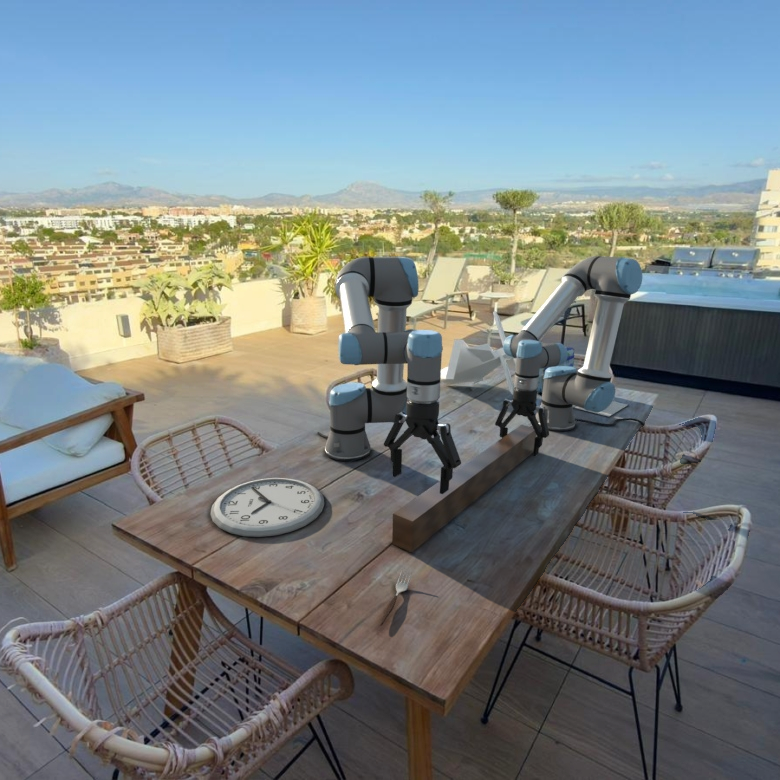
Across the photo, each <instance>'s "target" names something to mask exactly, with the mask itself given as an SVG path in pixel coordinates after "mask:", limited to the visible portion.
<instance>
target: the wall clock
mask: <svg viewBox="0 0 780 780" xmlns="http://www.w3.org/2000/svg"><path fill="white" fill-rule="evenodd" d="M324 506H325V498H324V495H323V494H322V492H321V491H320V490H319V489H318V488H316V487H315V486H313V484H310V483H308V482H305V481H302V480H299V479H293V478H286V477H285V478H284V477H283V478H282V477H270V478H261V479H255V480H251V481H247V482H243V483H241V484H238V485H236V486H233V487H231V488H230V489H228V490H225V492H224V493H222V494H221V495H220V496H218V497H217V499H216V500H215V501H214V503H213V504H212V505H211V509H210V517H211V520H212V523H214V524H215V525H216V526H217V527H218V528H219V529H221V530H223V531H225V532H227V533H229V534H231V535H236V536H242V537H253V538H254V537H256V538H263V537H272V536H279V535H283V534H288V533H291V532H294V531H296V530H299V529H301V528H303V527H306V526H307V525H309V524H310V523H312V522H313V521H315V520H316V519H317V518H318V517H319V516H320V514H321V513H322V512H323V510H324Z"/></svg>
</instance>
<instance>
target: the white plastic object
mask: <svg viewBox="0 0 780 780" xmlns="http://www.w3.org/2000/svg"><path fill="white" fill-rule="evenodd" d="M492 315H493V319H494V321H495V324H496V325H495V326H496V328H497V332H498V335H499V338H500V342H501V345H502V346H503V344H504V341H505V339H506V338H507V337H506V334H505V331H504V328H503V325H502V321H501V318H500V315H499V314H498V312H497V311H496V310H495V311H492ZM510 360H513V363H514V366H515V367H516V358H513V357H511V356H508V355H507V354H505V352H504V350H503V347H500V348H498V349H496V350H495V349H493V348H492V347H491V346H490V344H489V343H488V342H487V343H483V344H479V345H473V346H469V345H468V343H466V342H465V340H464V339H463V338H460V339H458V338H454V340H453V344H452V349H451V353H450V357H449V362H448V366H446V367H444V368H441V377H440V381H442V383H443V384H444V385H445V386H449V385H458V384H467V383H468V384H469V383H473V384H477V383H480V382H482V381H484V378H485V377H486V376H487V375H489V374H490V373H492V372H494V371H495V370H496V369H497V368H499V367H500V366H502V370H503V373H504V376H505V380H506V383H507V386H508V390H509V393H510V394H511V395H512V396H513V390H514V388H515V386H514V381H513V378H512V375H511V371H510V369H509V365H508V361H510Z"/></svg>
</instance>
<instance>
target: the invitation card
mask: <svg viewBox="0 0 780 780" xmlns="http://www.w3.org/2000/svg"><path fill="white" fill-rule="evenodd" d="M628 406H629V404H627V403H623V402H618V401H614V400H613V401H612V402H611V404H610V405H609V406H608V407H607V408H606V409H605V410H603V411H601V412H593V411H587V410H585V409H583V408H580V407H578V406H574V407H573V409H575V410H581V411H584V412H587V413H593V414H596V415H600V416H604V417H608V418H609V417H611V416H613V415H614V414H616V413H617V412H619V411H621V410H623V409H624V408H626V407H628Z"/></svg>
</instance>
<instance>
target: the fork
mask: <svg viewBox="0 0 780 780" xmlns="http://www.w3.org/2000/svg"><path fill="white" fill-rule="evenodd" d="M402 573H403V575H402ZM412 573H413V571H410V574H409V572H407V573H406V571H404V572H403V570H400V574H399V577H398V579H397V582H396V584H395V590H396V593H395V595H394V596H393V597H392V599H391V600H390V601H389V603H388V605H387V607H386V609H385V611H384V615H383V617H382V619H381V622H380V624H379V626H380V627H382V626H383V624H384V623H385V621H386V619H388V617H389V615H390V614H391V612H392V611H393V609H394V607H395V605H396V602H397V600H398V596H399V594H401V593H404V592H405V591H407V590H408V588H409V585H410V581H411V578H412ZM405 574H406V576H405ZM408 575H409V577H408ZM407 580H408V581H407Z"/></svg>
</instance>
